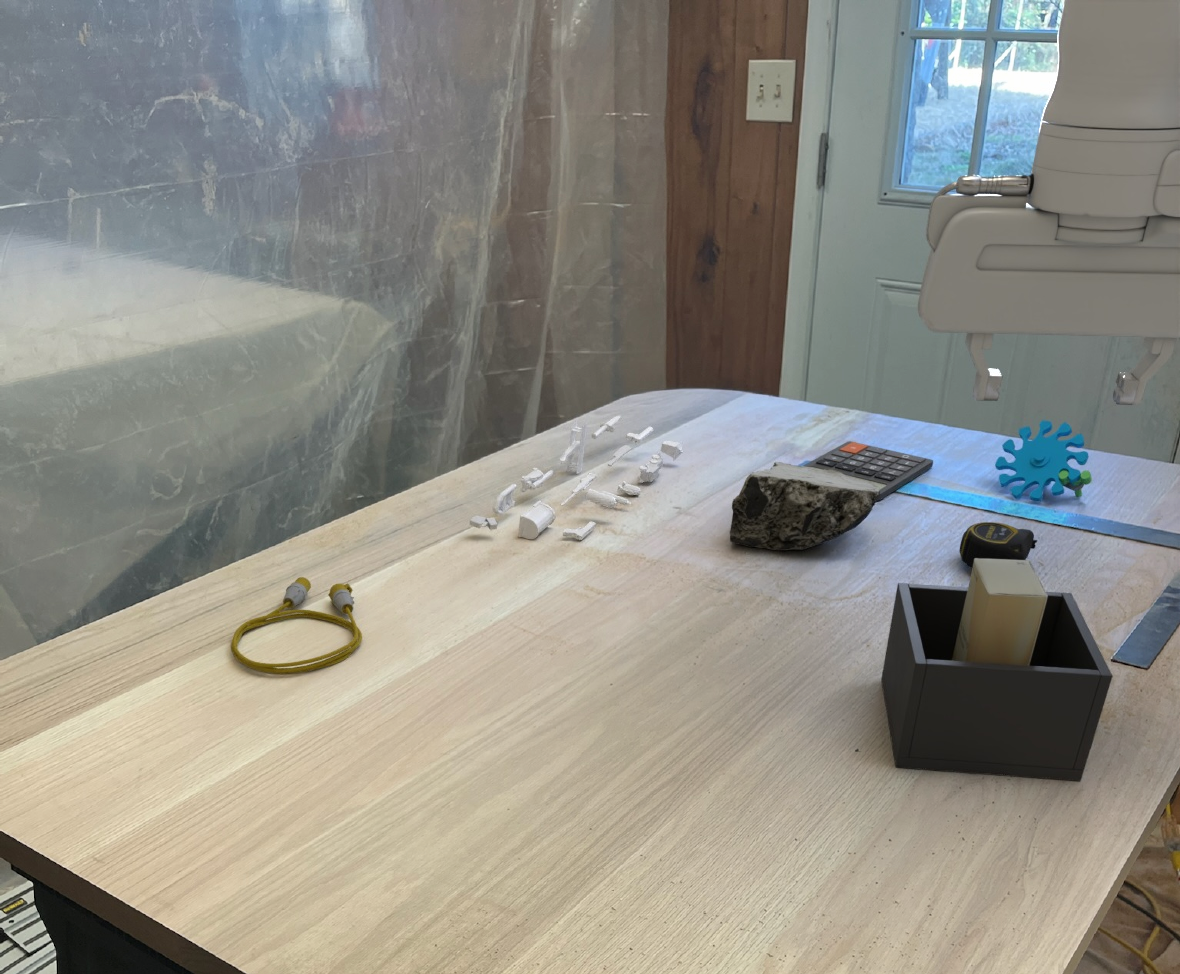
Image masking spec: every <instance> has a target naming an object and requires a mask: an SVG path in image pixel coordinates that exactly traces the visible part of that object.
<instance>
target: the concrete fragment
mask: <svg viewBox="0 0 1180 974" xmlns="http://www.w3.org/2000/svg"><path fill="white" fill-rule="evenodd" d="M879 493H880V488H879V487H877V486H876V485H874V484H873V483H871V482H870V481H865V480H862V479H858V478H853V477H850V476H847V475H844V474H843V473H842V472H840V471H836V470H831V469H823V470H819V469H816V468H810V467H804V466H803V465H795V464H791V463H786V462H785V463H784V462H782V461H776V462H774V463H773V465H772V466H771V467H770V469H768V468H767V469H763V470H757V471H754V472H751V473H749V474H748V476H747V477H746V479H745V481H744V483H743V485H742V487H741V489H740V492H739V494H738V495H737V496H735V497H734V498H733V500H732V503H731V509H732V516H731V523H730V530H729V541H730V543H732V544H736V545H740V546H745V547H749V548H750V547H751V548H758V549H764V548H765V549H768V550H772V551H791V550H800V551H802V550H805V549H808V548H812V547H814V546H818V545H821V544H824V543H826V542H829V541H831V540H833V539H835V538H838V537H840V536H841V535H843V534H846V533H848V532H851V531H853V530H854V529H855V528H856V527H859V525H860V524H862V523H863V522H864V520H865V519H866V518H868V516H869V515H870V513H871V512H872V510H873V508H874V506H875V504H876V503H877V501H878V500H877V499H878V497H879Z"/></svg>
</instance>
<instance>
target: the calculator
mask: <svg viewBox="0 0 1180 974" xmlns="http://www.w3.org/2000/svg"><path fill="white" fill-rule="evenodd" d="M802 466H804V467H810V468H816V469H819V470H823V469H831V470H836V471H840V472H842V473H843V474H844V475H847V476H850V477H853V478H858V479H862V480H865V481H870V482H871V483H873V484H874V485H876V486H877V487H879V488H880V493H879V497H878V499H877V501H881V500H882V499H884V498H886V497H887V496H889V495H891V494H892V493H894V492H896V491H897V490H898V489H900V488H901V487H904V486H905V485H906V484H908V483H909V482H911V481H912V480H914V479H916V478H917V477H919V476H921V475H922V474H923V473H925V472H927V471H928V470H930V469H932V468H933V466H934V460H933V459H932V458H927V457H922V456H918V455H913V454H909V453H905V452H899V451H896V450H891V449H886V448H882V447H878V446H874V445H869V444H865V443H860V442H856V441H846V442H844V443H842V444H840V445H839V446H837V447H834V448H833V449H831V450H829V451H828V452H826V453H823V454H822V455H820V456H818V457H816V458H815V459H813V460H811V461H809V462H807V463H805V464H803V465H802Z"/></svg>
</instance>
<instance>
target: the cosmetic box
mask: <svg viewBox="0 0 1180 974" xmlns="http://www.w3.org/2000/svg"><path fill="white" fill-rule="evenodd" d="M970 572H971V573H970V578H969V582H968V586H967V587H968V591H967V595H966V600H965V604H964V609H963V613H962V618H961V622H960V626H959V631H958V635H957V640H956V645H955V649H954V654H953V658H952V661H963V662H979V663H994V664H1010V665H1025V666H1029V664H1030V661H1031V657H1032V653H1033V650H1034V646H1035V642H1036V638H1037V635H1038V631H1039V627H1040V624H1041V620H1042V616H1043V613H1044V609H1045V605H1046V601H1047V598H1048V595H1047V594H1046V592H1047V591H1046V590H1045V587H1044V586H1043V583H1042V581H1041V579H1040V576H1039V575H1038V573H1037V572H1036V570H1035V568H1034V566H1033V563H1032V561H1031V560H1029V559H1026V560H1007V559H982V558H981V559H980V558H975V559H974V563H973V568H971V571H970Z"/></svg>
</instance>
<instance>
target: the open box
mask: <svg viewBox="0 0 1180 974" xmlns="http://www.w3.org/2000/svg"><path fill="white" fill-rule="evenodd" d="M967 591H968V586H957V585H955V586H954V585H938V584H937V585H936V584H923V583H922V584H921V583H920V584H919V583H907V582H898V583H897V586H896V591H895V597H894V603H893V608H892V609H893V610H892V616H891V619H890V620H891V621H890V625H889V632H888V638H887V643H886V650H885V656H884V661H883V667H882V673H881V686H882V692H883V698H884V705H885V710H886V716H887V717H886V718H887V723H888V729H889V735H890V740H891V747H892V753H893V759H894V766H895V768H896V769H897V768H901V769H911V770H925V771H940V772H954V773H964V774H965V773H966V774H968V773H969V774H979V775H980V774H981V775H992V776H993V775H995V776H1005V777H1007V776H1008V777H1021V778H1033V779H1046V780H1047V779H1048V780H1049V779H1050V780H1060V781H1061V780H1062V781H1076V782H1081V780H1082V778H1083V775H1084V772H1085V768H1086V765H1087V762H1088V759H1089V755H1090V752H1091V749H1092V746H1093V742H1094V739H1095V735H1096V732H1097V729H1098V726H1099V722H1100V719H1101V716H1102V713H1103V710H1104V706H1105V703H1106V699H1107V696H1108V694H1109V689H1110V687H1111V684H1112V680H1113V674H1112V671H1111V670H1110V667H1109V666H1108V664H1107V662H1106V660H1105V658H1104V656H1103V653H1102V652H1101V650H1100V648H1099V645H1098V644H1097V642H1096V640H1095V638H1094V636H1093V634H1092V632H1091V629H1090V627H1089V626H1088V624H1087V622H1086V620H1085V618H1084V616H1083V614H1082V611H1081V610H1080V608H1079V606H1078V603H1077V602H1076V599H1075V598H1074V596H1073V594H1072V593H1071V592H1058V591H1046V594H1047V595H1048V598H1047V601H1046V605H1045V609H1044V613H1043V616H1042V620H1041V624H1040V627H1039V631H1038V635H1037V638H1036V642H1035V646H1034V650H1033V653H1032V657H1031V661H1030V664H1029V666H1025V665H1010V664H994V663H979V662H963V661H952V658H953V654H954V649H955V645H956V640H957V635H958V631H959V626H960V622H961V618H962V613H963V609H964V604H965V600H966V595H967Z"/></svg>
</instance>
